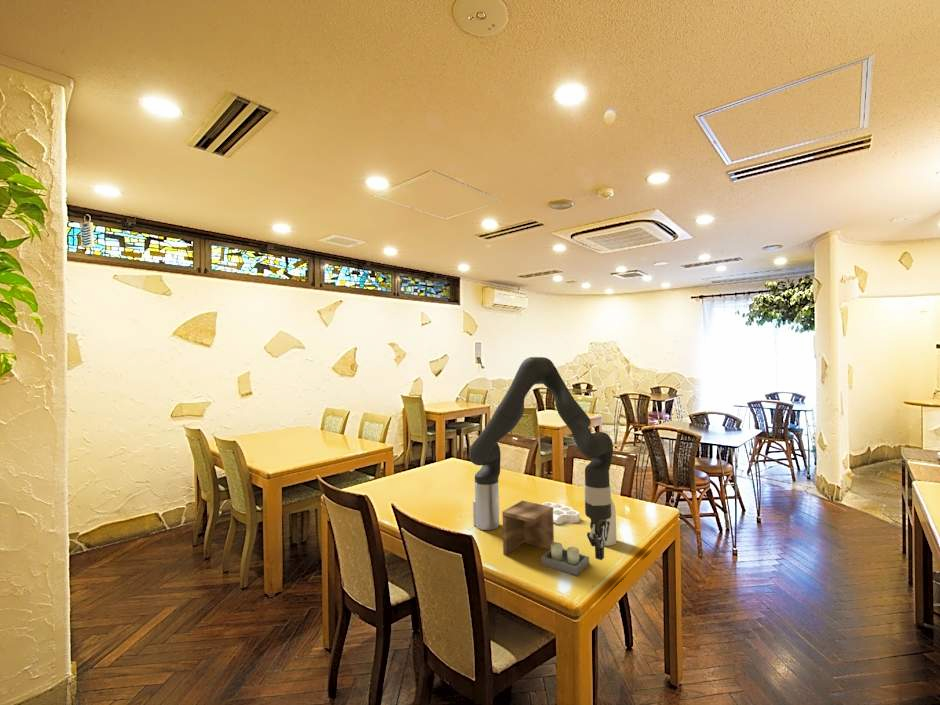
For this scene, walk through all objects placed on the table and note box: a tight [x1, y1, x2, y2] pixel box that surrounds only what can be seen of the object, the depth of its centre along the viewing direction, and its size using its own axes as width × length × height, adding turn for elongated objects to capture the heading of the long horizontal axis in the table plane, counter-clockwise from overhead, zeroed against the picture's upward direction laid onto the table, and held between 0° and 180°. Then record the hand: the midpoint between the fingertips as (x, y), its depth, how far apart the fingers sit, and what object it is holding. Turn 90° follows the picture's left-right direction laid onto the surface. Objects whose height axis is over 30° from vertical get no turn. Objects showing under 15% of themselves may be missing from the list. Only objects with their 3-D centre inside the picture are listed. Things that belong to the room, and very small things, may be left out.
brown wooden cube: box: [502, 500, 555, 556], centre depth 141 cm, size 12×13×14 cm
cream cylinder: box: [551, 541, 563, 562], centre depth 133 cm, size 4×4×5 cm
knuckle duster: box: [541, 501, 581, 525], centre depth 171 cm, size 3×18×15 cm
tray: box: [540, 548, 590, 577], centre depth 131 cm, size 12×9×3 cm
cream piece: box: [566, 546, 580, 566], centre depth 130 cm, size 4×4×5 cm
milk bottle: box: [604, 498, 617, 547], centre depth 147 cm, size 8×8×20 cm
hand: (599, 558), depth 125 cm, fingers closed
